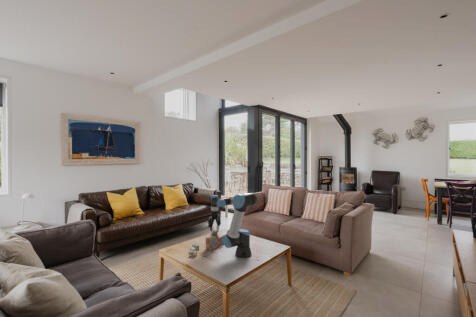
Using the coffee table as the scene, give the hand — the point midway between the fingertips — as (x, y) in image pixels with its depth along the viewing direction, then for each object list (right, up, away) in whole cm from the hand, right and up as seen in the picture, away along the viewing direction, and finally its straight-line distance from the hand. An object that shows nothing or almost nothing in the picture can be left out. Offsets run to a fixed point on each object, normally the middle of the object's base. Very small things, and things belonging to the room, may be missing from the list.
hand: (214, 232), depth 236 cm
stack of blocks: (+1, -15, +1) cm, 15 cm away
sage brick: (-20, -15, -12) cm, 28 cm away
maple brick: (-18, -15, -20) cm, 31 cm away
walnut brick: (0, -2, 0) cm, 2 cm away
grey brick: (-18, -15, -5) cm, 24 cm away
